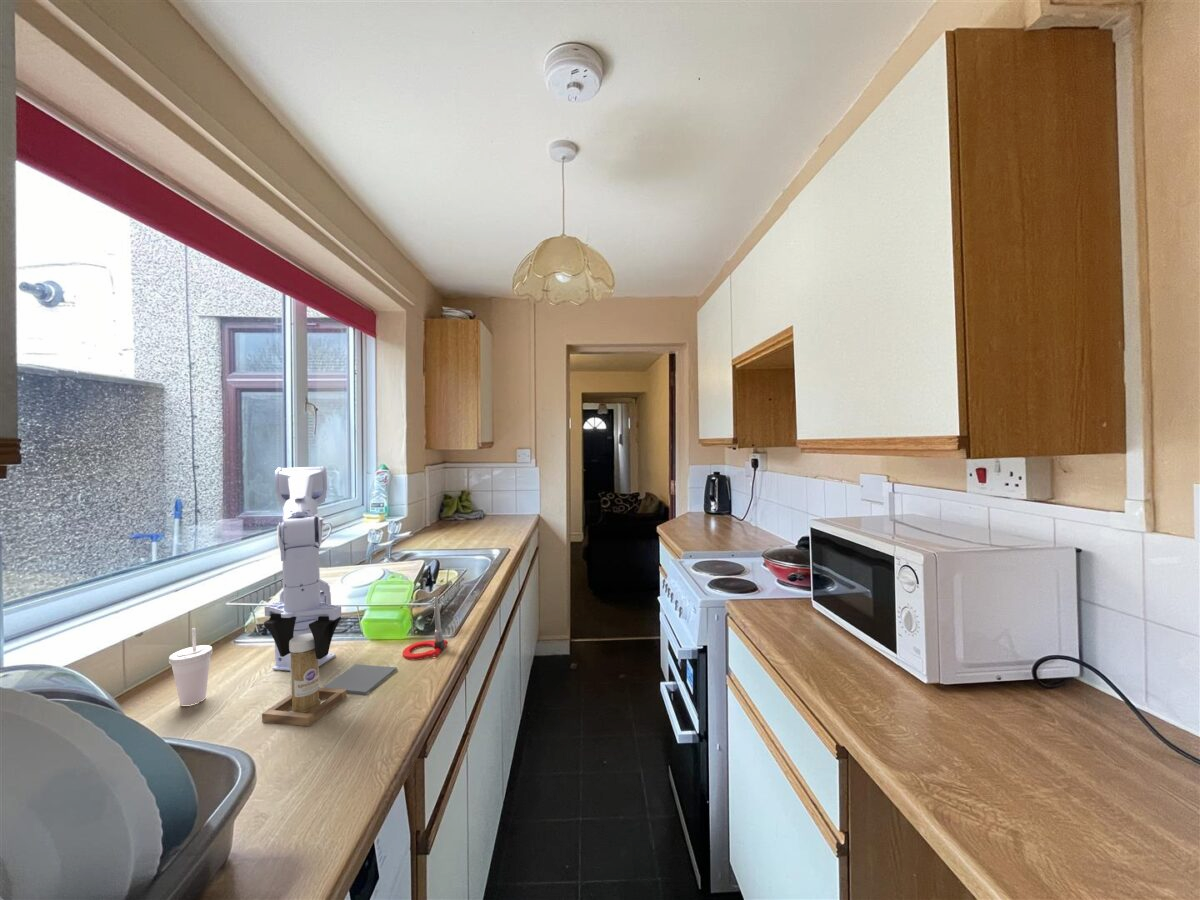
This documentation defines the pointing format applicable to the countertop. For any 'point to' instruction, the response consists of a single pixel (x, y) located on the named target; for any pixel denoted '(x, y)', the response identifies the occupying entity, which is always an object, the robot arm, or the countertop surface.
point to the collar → (304, 719)
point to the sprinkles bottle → (304, 674)
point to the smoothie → (191, 671)
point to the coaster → (361, 678)
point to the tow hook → (437, 644)
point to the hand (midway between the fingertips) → (304, 655)
